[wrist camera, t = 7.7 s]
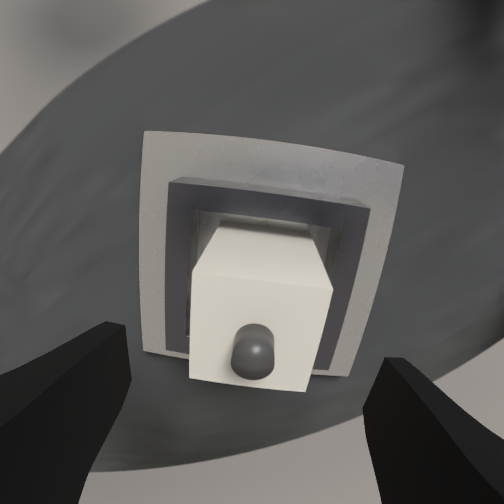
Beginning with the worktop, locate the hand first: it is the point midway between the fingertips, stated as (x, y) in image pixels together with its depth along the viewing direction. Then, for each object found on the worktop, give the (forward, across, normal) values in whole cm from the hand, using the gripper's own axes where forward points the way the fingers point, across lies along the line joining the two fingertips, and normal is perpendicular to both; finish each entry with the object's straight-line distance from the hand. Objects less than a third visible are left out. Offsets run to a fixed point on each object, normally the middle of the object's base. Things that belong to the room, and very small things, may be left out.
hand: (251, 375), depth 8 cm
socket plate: (+8, 0, 0) cm, 9 cm away
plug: (+8, 0, 0) cm, 8 cm away
